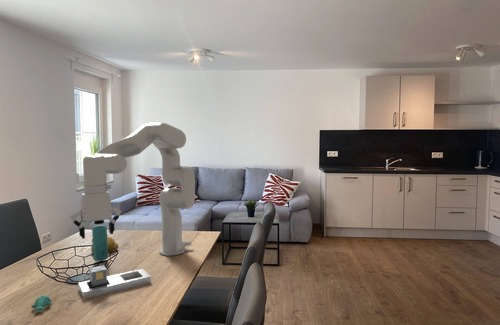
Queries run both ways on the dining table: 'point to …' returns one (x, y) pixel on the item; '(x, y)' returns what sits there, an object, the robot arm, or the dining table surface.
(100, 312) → the dining table surface
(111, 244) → the bread roll
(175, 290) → the dining table surface
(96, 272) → the block
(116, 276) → the rail
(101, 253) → the beverage bottle
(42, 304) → the whale figurine
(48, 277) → the dining table surface
